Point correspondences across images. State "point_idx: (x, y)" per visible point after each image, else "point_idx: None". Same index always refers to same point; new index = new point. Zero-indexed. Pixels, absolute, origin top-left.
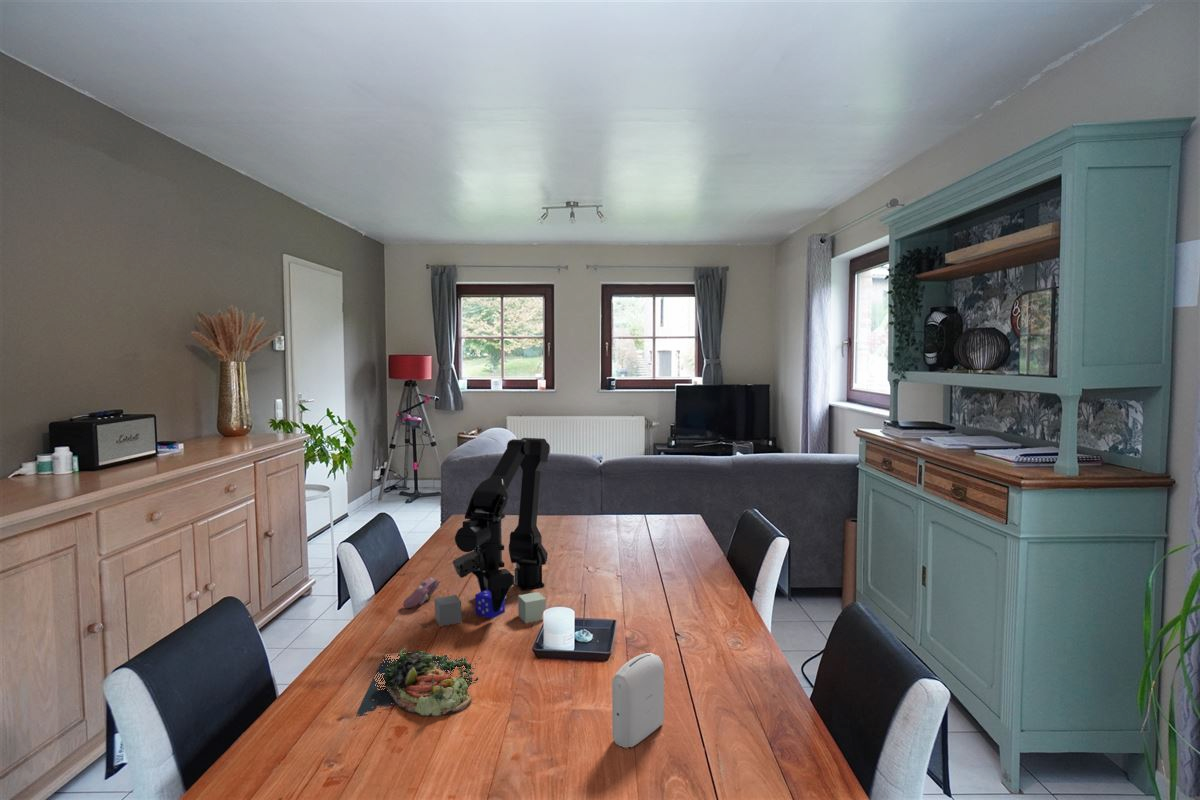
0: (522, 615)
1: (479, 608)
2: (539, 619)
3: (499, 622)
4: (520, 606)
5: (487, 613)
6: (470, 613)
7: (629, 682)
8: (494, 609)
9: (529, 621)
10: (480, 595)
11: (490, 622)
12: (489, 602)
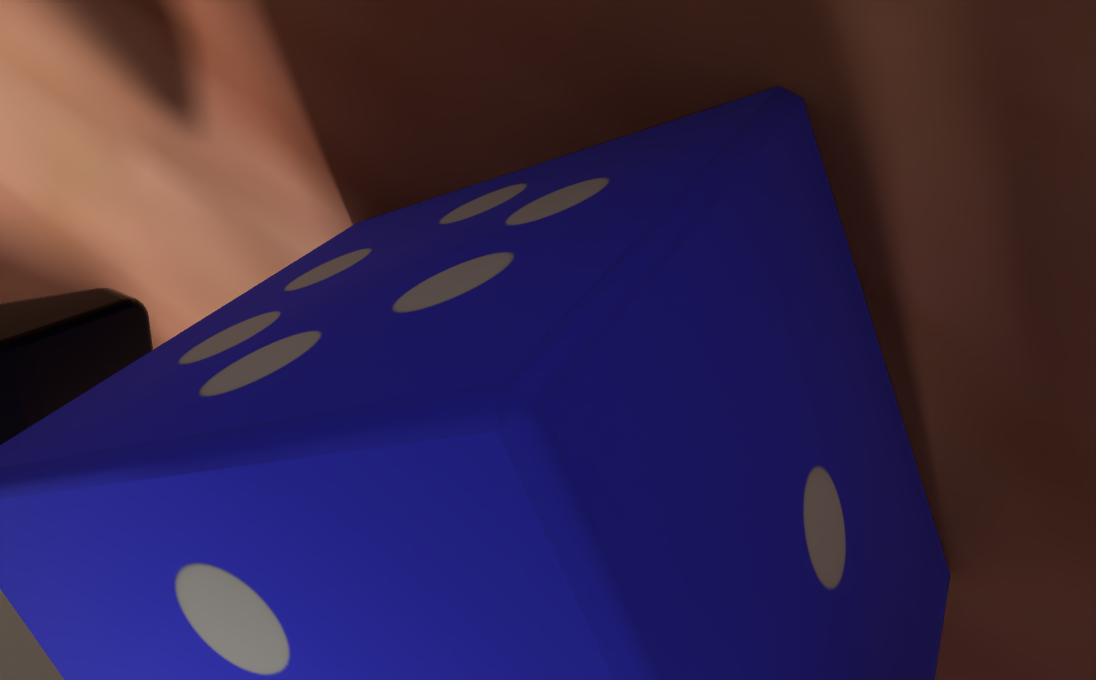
0: None
1: (564, 198)
2: None
3: (160, 231)
4: (54, 669)
5: (377, 237)
6: (998, 9)
7: None
8: (45, 314)
9: None
10: (262, 461)
11: (208, 106)
12: (99, 398)
